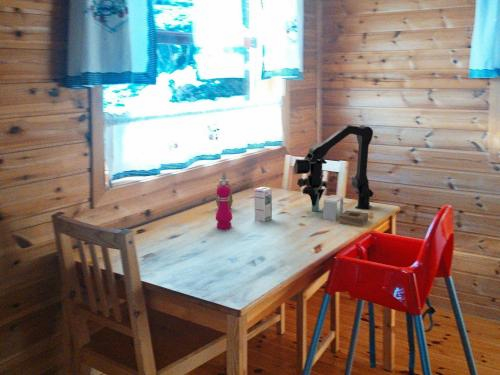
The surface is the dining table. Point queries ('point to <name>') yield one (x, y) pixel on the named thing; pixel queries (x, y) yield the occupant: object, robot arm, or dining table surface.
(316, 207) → the peg
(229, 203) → the squeeze bottle
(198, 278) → the dining table surface
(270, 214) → the syrup box
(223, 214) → the pepper mill
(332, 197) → the small white footstool
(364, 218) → the socket
